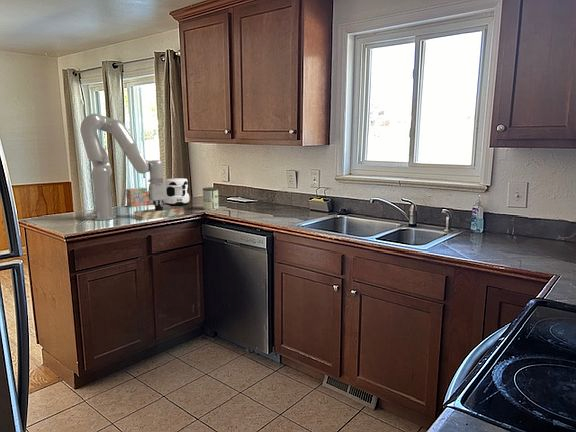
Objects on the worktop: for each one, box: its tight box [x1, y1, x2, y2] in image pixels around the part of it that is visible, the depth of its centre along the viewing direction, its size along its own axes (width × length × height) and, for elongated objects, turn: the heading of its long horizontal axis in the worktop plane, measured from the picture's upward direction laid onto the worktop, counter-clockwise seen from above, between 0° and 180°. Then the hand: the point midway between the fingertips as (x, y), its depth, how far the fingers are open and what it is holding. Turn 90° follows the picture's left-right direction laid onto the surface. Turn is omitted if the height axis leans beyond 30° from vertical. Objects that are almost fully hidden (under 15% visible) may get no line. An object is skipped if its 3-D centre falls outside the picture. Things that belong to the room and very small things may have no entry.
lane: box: [133, 205, 185, 221], centre depth 265 cm, size 28×10×4 cm, turn 136°
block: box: [161, 204, 171, 211], centre depth 267 cm, size 5×5×4 cm
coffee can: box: [202, 186, 220, 211], centre depth 291 cm, size 10×10×14 cm
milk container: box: [164, 177, 190, 206], centre depth 310 cm, size 17×17×18 cm
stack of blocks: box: [125, 187, 158, 208], centre depth 306 cm, size 21×6×12 cm, turn 137°
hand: (158, 211), depth 264 cm, fingers closed
